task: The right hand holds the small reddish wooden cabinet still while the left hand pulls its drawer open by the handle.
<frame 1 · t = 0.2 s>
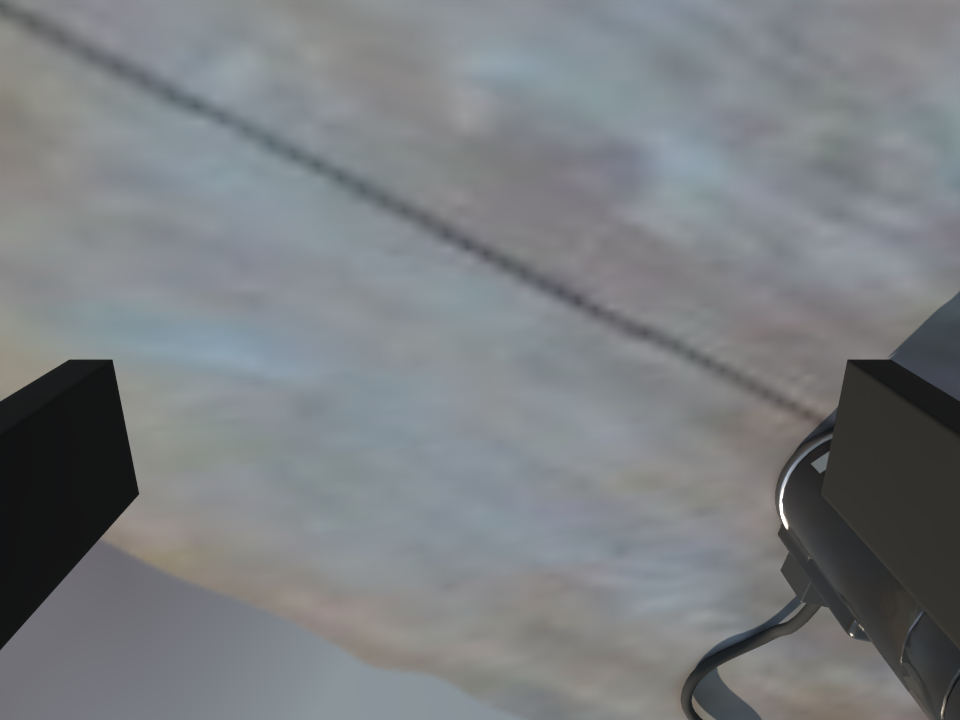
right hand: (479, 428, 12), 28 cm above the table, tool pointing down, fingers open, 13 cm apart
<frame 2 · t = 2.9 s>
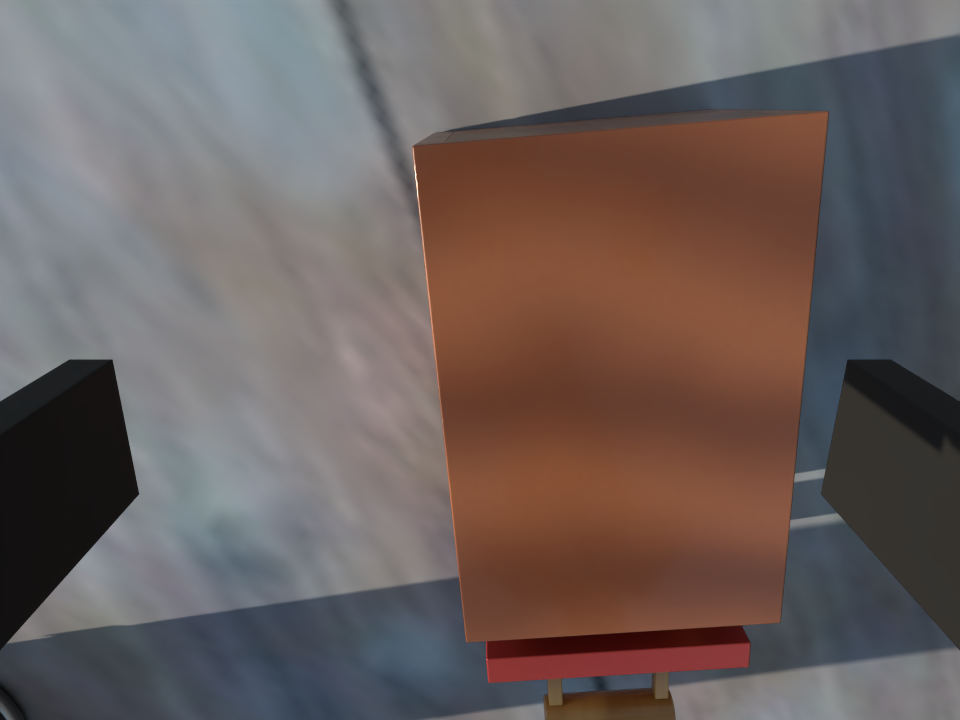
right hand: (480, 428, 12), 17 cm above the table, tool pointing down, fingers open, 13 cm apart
drawer: (599, 506, 28), point 5 cm above the table, slide at 1.7 cm
cabinet: (579, 325, 30), on the table
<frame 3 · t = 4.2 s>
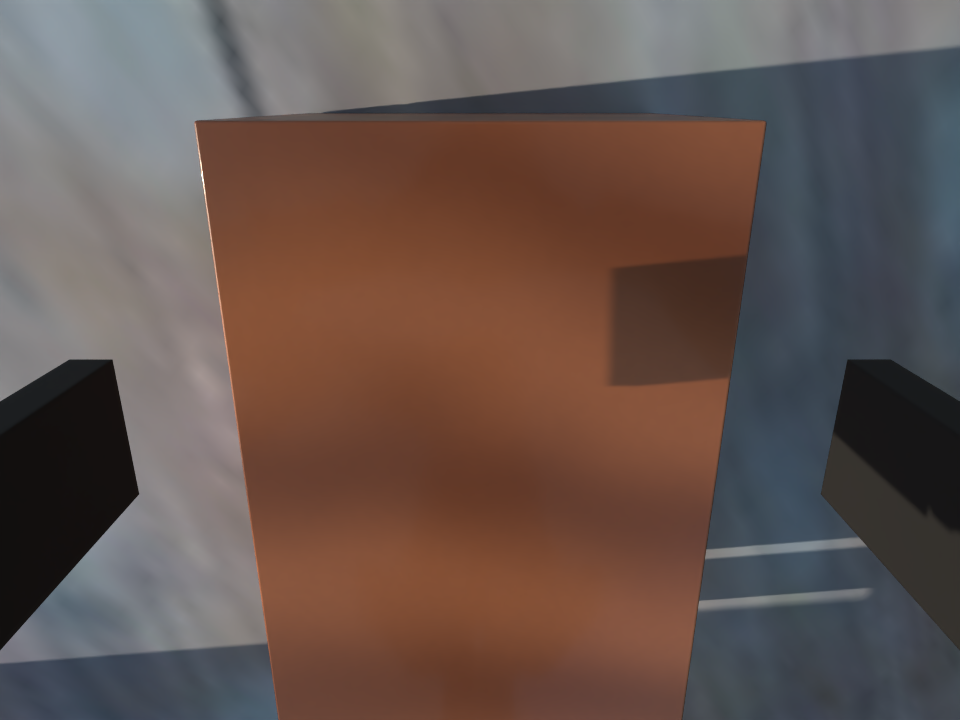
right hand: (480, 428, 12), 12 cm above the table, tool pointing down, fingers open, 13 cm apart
cabinet: (480, 359, 25), on the table
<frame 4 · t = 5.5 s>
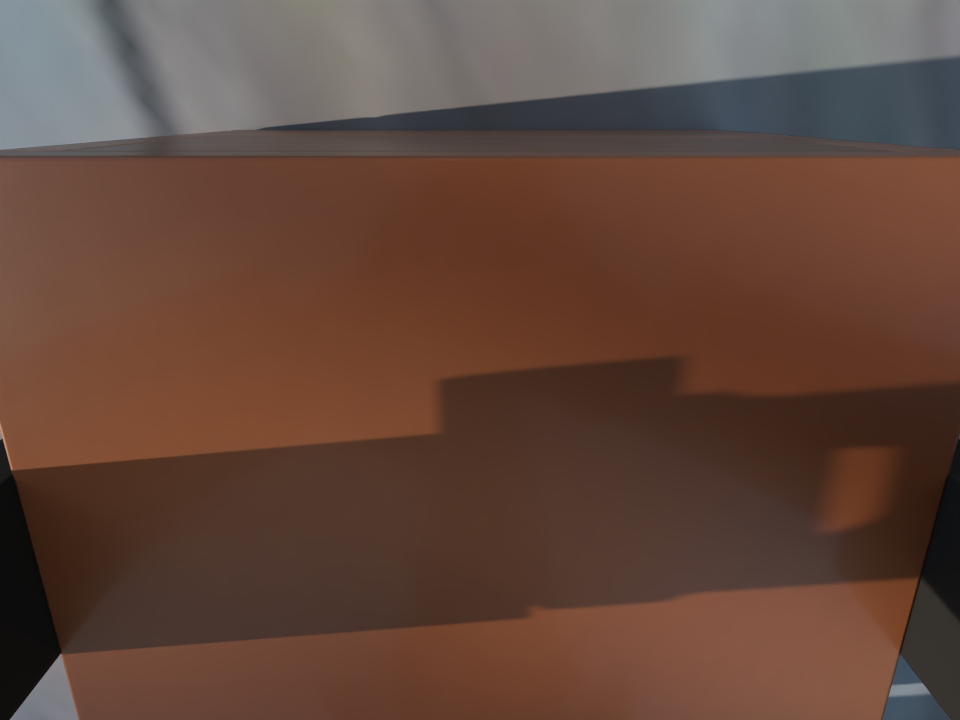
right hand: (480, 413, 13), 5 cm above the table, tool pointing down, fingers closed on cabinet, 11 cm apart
cabinet: (480, 459, 19), on the table, touching right hand
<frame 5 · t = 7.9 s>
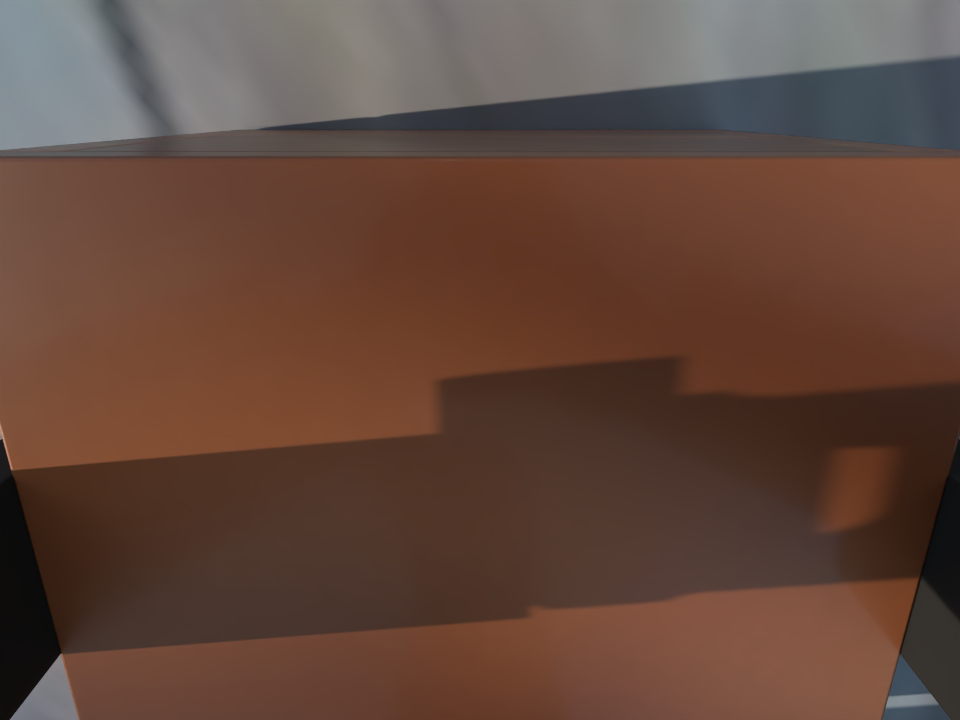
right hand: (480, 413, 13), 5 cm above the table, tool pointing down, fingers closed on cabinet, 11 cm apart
cabinet: (480, 459, 19), on the table, touching right hand
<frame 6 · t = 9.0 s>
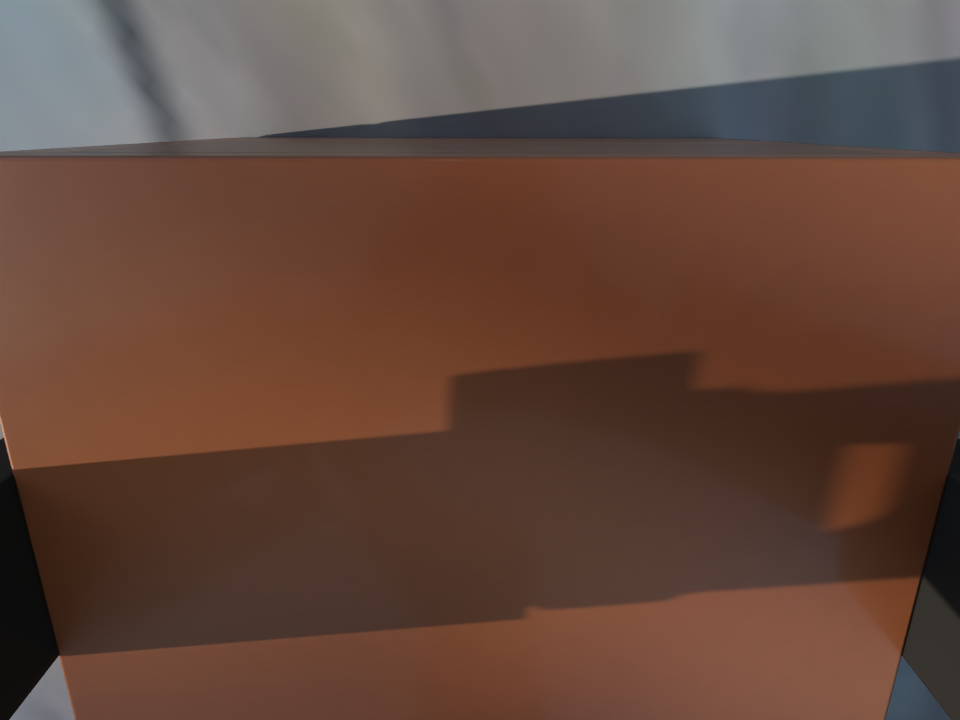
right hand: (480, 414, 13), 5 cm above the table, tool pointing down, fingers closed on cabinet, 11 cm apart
cabinet: (480, 466, 19), on the table, touching right hand
when the right hand's fingers open (5 cm above the table, at t = 10.4 s): cabinet stays where it is, on the table.
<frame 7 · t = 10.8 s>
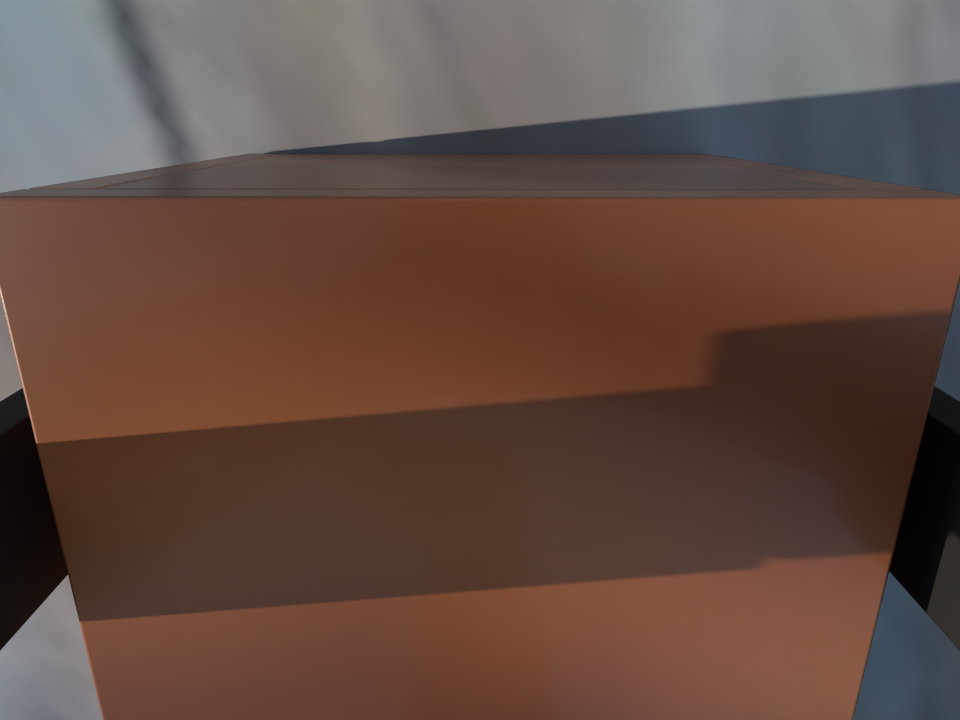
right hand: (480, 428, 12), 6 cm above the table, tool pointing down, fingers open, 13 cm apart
cabinet: (478, 468, 19), on the table
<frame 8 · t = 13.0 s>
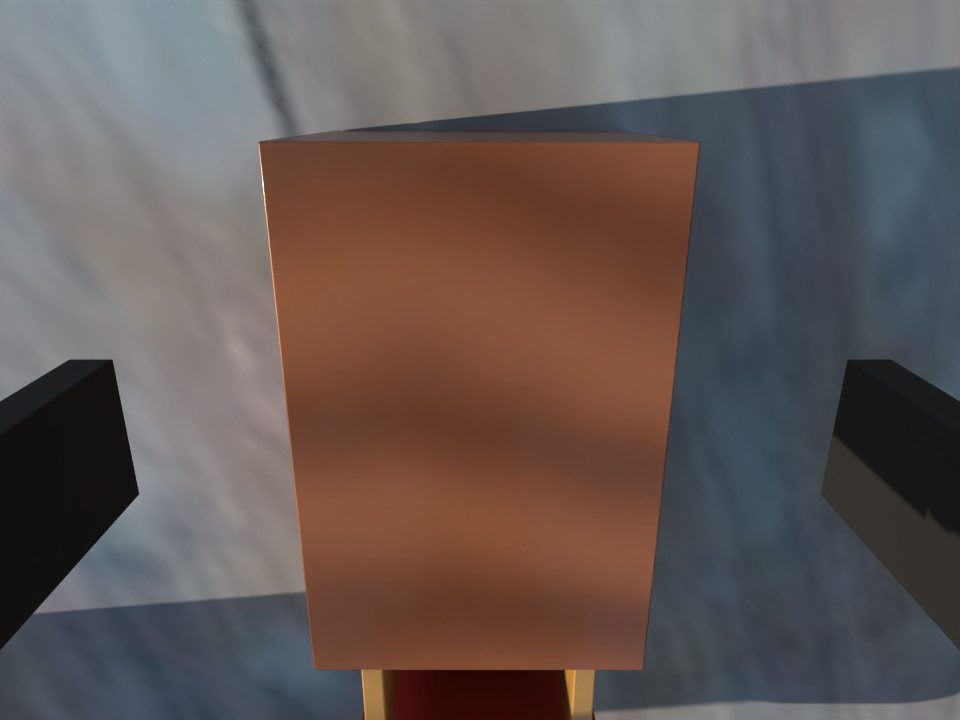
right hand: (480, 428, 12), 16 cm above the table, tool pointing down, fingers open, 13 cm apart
drawer: (478, 633, 28), point 5 cm above the table, slide at 6.6 cm
cabinet: (479, 342, 29), on the table
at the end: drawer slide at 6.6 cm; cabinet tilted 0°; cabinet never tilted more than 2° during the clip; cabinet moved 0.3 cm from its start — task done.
